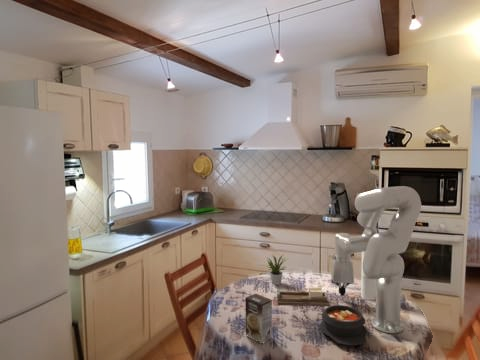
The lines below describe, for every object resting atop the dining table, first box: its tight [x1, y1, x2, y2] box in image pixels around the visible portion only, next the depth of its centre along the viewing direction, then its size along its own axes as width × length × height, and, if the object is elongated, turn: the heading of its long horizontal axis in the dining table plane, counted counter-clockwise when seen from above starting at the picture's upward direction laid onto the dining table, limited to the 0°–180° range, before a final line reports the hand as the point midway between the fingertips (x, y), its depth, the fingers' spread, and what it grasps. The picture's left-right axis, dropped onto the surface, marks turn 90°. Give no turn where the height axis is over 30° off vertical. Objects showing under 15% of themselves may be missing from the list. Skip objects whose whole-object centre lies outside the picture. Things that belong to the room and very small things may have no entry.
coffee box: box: [245, 293, 273, 344], centre depth 140 cm, size 9×6×16 cm
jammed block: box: [308, 286, 324, 299], centre depth 173 cm, size 6×6×4 cm
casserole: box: [319, 304, 368, 346], centre depth 142 cm, size 25×19×8 cm
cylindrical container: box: [360, 251, 377, 301], centre depth 175 cm, size 7×7×25 cm
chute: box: [276, 288, 329, 307], centre depth 174 cm, size 12×24×4 cm, turn 85°
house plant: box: [266, 254, 288, 286], centre depth 195 cm, size 14×14×16 cm
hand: (342, 294), depth 172 cm, fingers closed
